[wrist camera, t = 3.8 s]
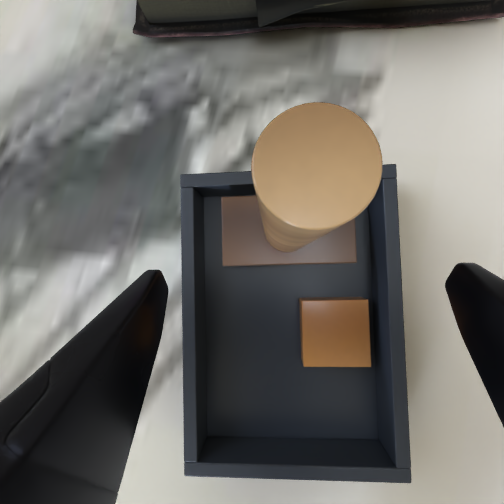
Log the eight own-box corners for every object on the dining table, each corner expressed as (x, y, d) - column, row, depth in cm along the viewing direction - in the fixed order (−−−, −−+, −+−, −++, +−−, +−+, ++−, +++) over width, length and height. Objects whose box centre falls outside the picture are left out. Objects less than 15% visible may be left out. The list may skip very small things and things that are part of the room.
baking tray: (388, 447, 18) (412, 484, 15) (198, 442, 19) (183, 476, 16) (376, 179, 19) (396, 163, 16) (194, 188, 20) (180, 174, 17)
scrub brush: (343, 263, 18) (524, 260, 5) (230, 265, 19) (134, 270, 6) (340, 203, 18) (510, 53, 5) (229, 207, 19) (133, 80, 6)
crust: (363, 359, 18) (371, 367, 16) (300, 359, 18) (303, 367, 17) (361, 296, 18) (368, 299, 16) (299, 297, 18) (301, 300, 17)
